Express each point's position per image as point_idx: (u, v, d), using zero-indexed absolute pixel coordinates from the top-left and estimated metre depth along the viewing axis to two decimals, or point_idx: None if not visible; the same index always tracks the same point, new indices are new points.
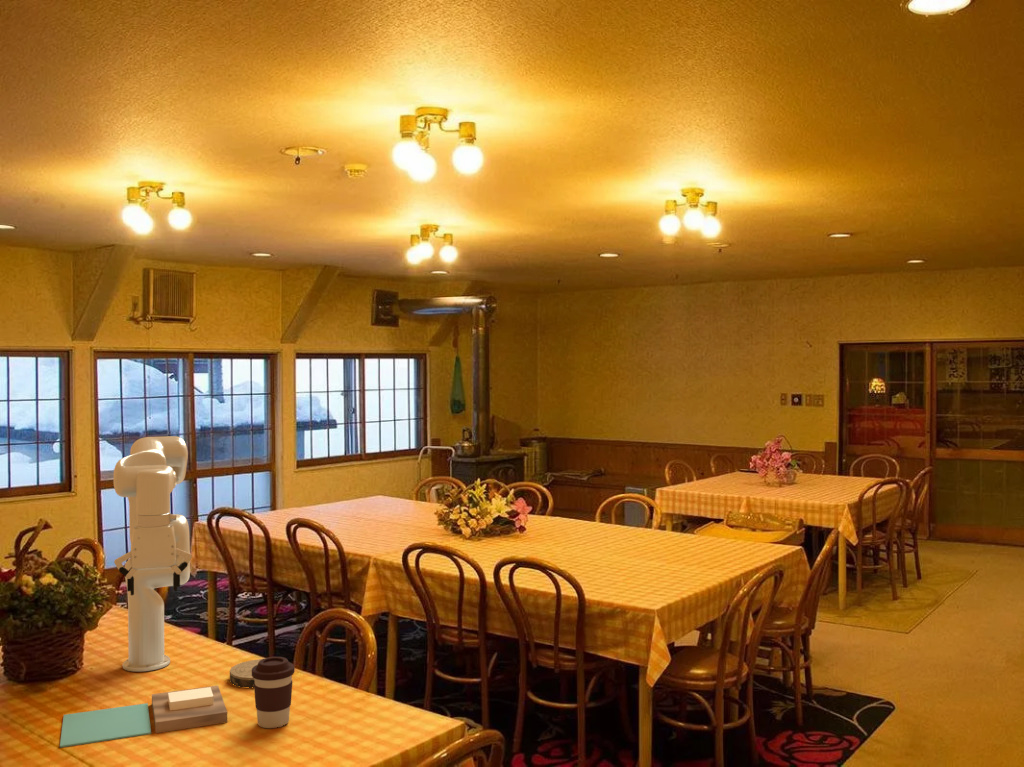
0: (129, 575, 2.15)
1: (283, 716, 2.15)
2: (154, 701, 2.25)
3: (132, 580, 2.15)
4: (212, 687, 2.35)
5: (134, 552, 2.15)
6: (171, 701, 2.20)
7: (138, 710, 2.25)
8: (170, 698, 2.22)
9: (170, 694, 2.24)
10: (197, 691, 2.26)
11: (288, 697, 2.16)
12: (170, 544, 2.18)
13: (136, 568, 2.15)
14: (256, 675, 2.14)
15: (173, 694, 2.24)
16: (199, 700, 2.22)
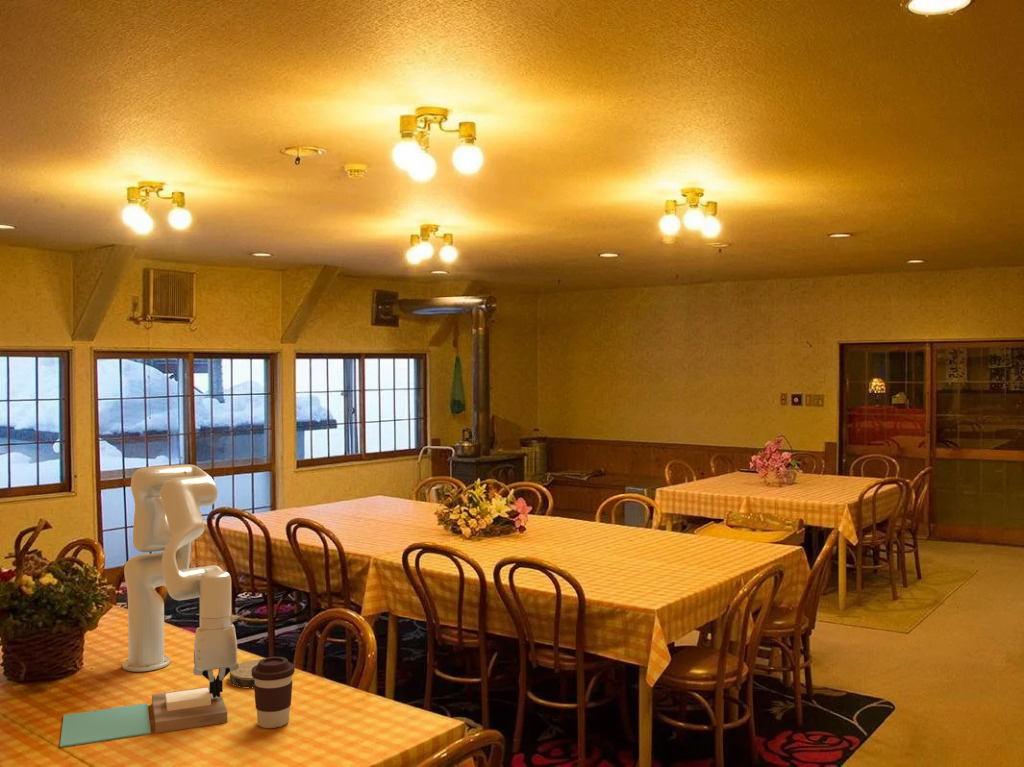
0: (211, 678, 2.25)
1: (283, 716, 2.15)
2: (154, 701, 2.25)
3: (215, 683, 2.25)
4: None
5: (198, 654, 2.23)
6: (168, 702, 2.19)
7: (138, 710, 2.25)
8: (167, 699, 2.21)
9: (167, 695, 2.24)
10: (194, 692, 2.26)
11: (288, 697, 2.16)
12: (231, 645, 2.26)
13: (200, 669, 2.23)
14: (256, 675, 2.14)
15: (170, 695, 2.24)
16: (197, 700, 2.22)
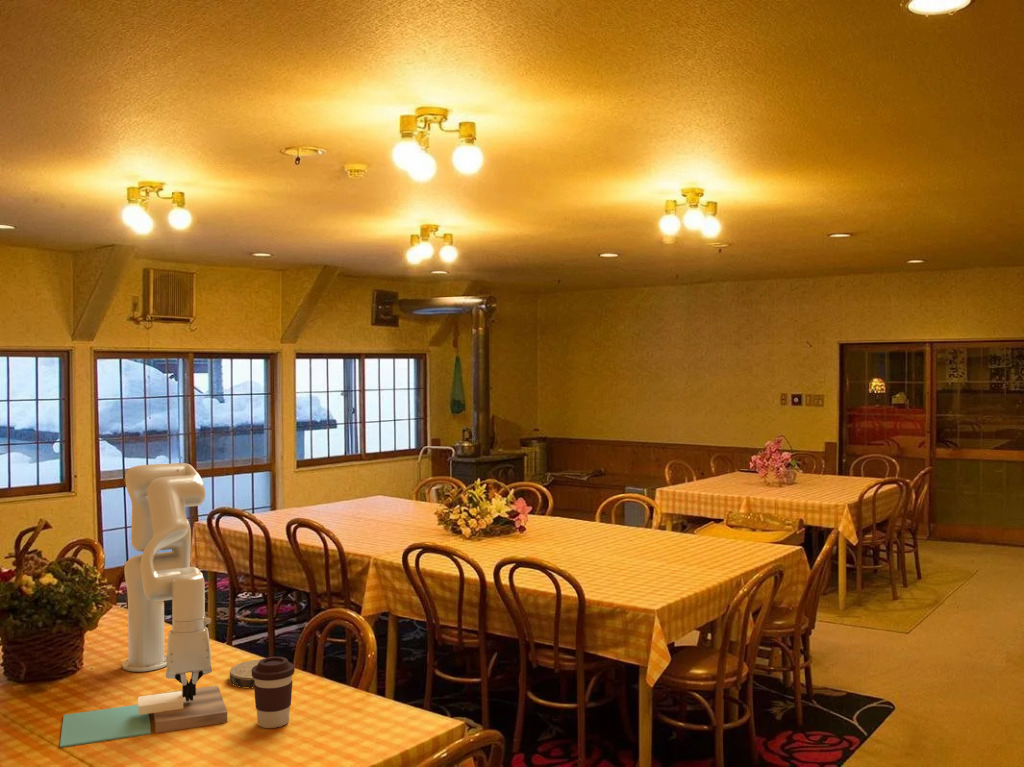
0: (184, 682, 2.22)
1: (283, 716, 2.15)
2: None
3: (188, 687, 2.23)
4: (212, 687, 2.35)
5: (170, 657, 2.20)
6: (140, 705, 2.17)
7: (138, 710, 2.25)
8: (139, 702, 2.19)
9: (140, 698, 2.22)
10: (167, 695, 2.23)
11: (288, 697, 2.16)
12: (205, 648, 2.23)
13: (172, 672, 2.21)
14: (256, 675, 2.14)
15: (143, 698, 2.22)
16: (168, 704, 2.19)
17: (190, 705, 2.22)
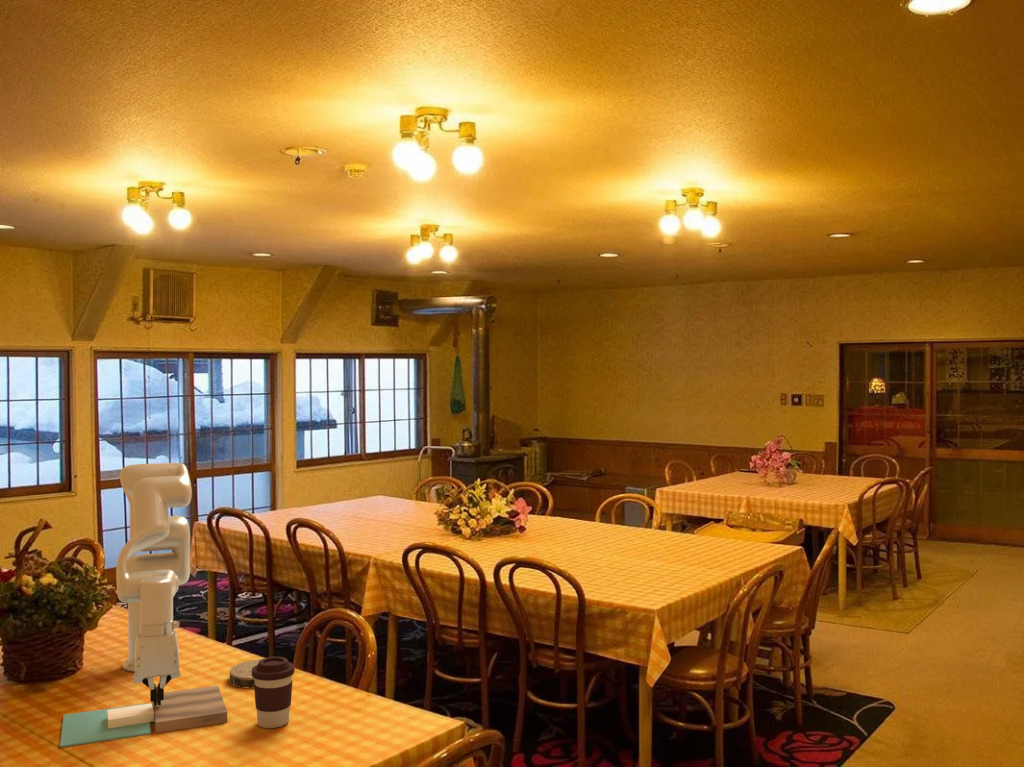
0: (151, 686, 2.20)
1: (283, 716, 2.15)
2: None
3: (155, 691, 2.20)
4: (212, 687, 2.35)
5: (138, 661, 2.17)
6: (109, 719, 2.14)
7: None
8: (109, 715, 2.16)
9: (109, 711, 2.19)
10: (137, 708, 2.21)
11: (288, 697, 2.16)
12: (173, 652, 2.20)
13: (139, 677, 2.18)
14: (256, 675, 2.14)
15: (112, 711, 2.19)
16: (139, 717, 2.16)
17: (190, 705, 2.22)
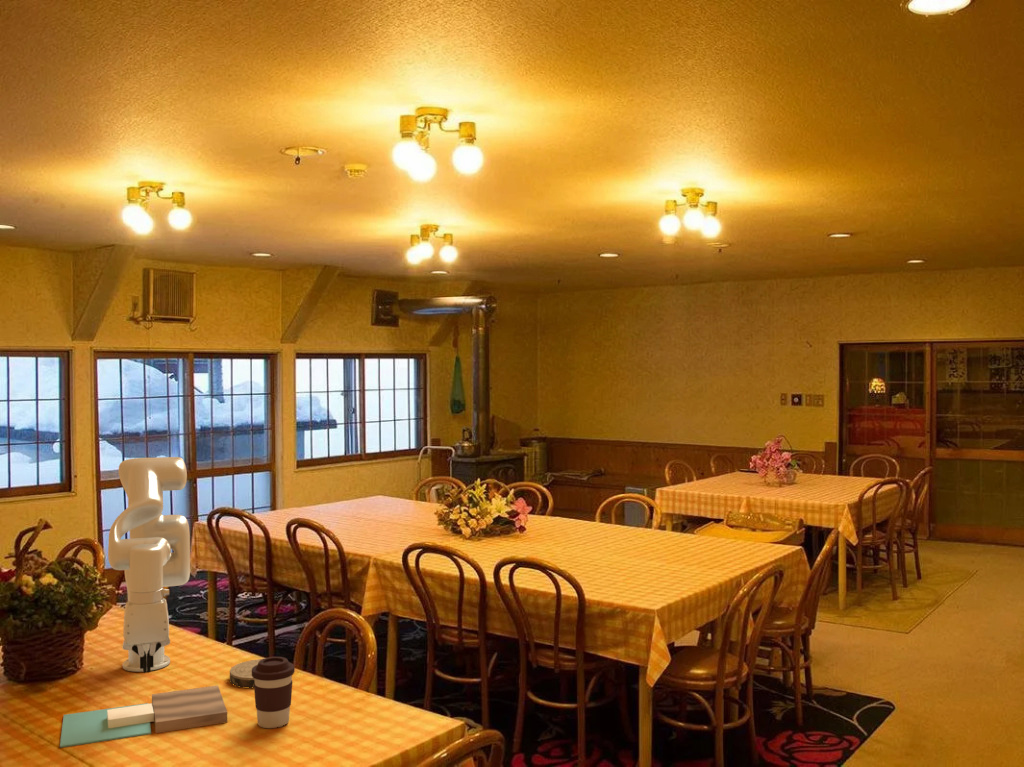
0: (141, 653, 2.19)
1: (283, 716, 2.15)
2: (154, 701, 2.25)
3: (145, 658, 2.19)
4: (212, 687, 2.35)
5: (127, 628, 2.17)
6: (109, 719, 2.14)
7: None
8: (109, 715, 2.16)
9: (109, 711, 2.19)
10: (137, 708, 2.21)
11: (288, 697, 2.16)
12: (162, 619, 2.20)
13: (129, 644, 2.17)
14: (256, 675, 2.14)
15: (112, 711, 2.19)
16: (139, 717, 2.16)
17: (190, 705, 2.22)
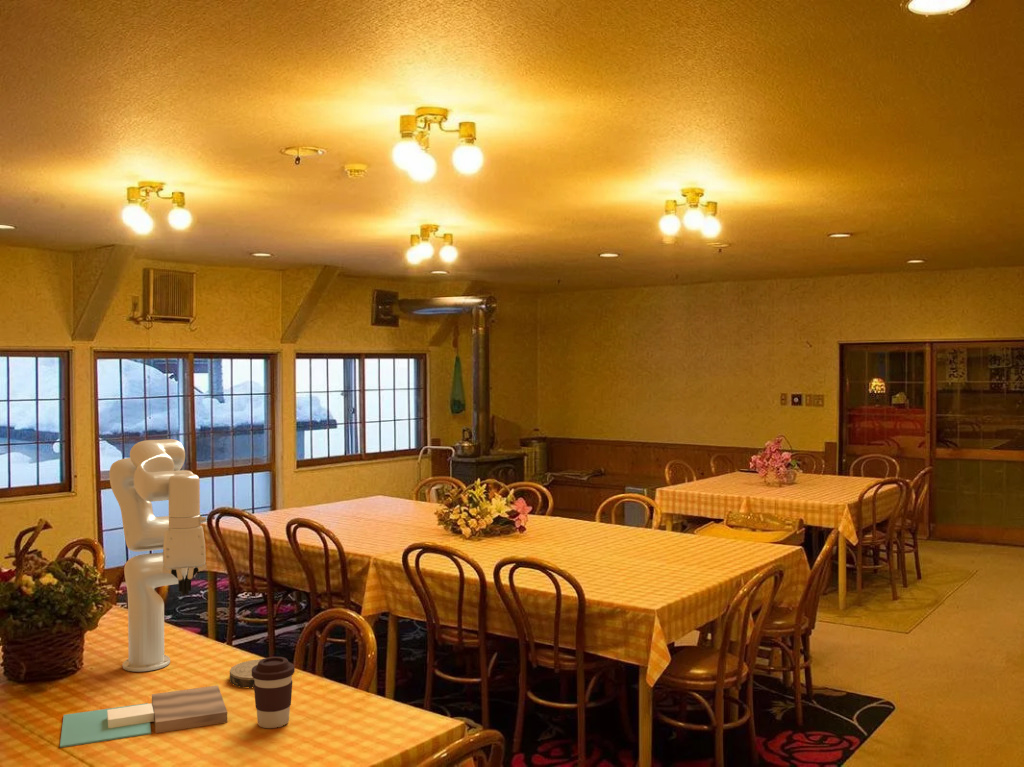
0: (180, 577, 2.31)
1: (283, 716, 2.15)
2: (154, 701, 2.25)
3: (183, 581, 2.31)
4: (212, 687, 2.35)
5: (167, 552, 2.29)
6: (109, 719, 2.14)
7: None
8: (109, 715, 2.16)
9: (109, 711, 2.19)
10: (137, 708, 2.21)
11: (288, 697, 2.16)
12: (200, 544, 2.32)
13: (168, 567, 2.29)
14: (256, 675, 2.14)
15: (112, 711, 2.19)
16: (139, 717, 2.16)
17: (190, 705, 2.22)
